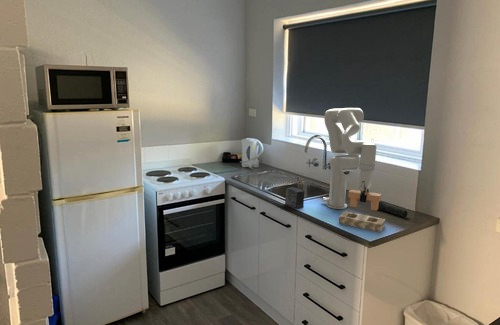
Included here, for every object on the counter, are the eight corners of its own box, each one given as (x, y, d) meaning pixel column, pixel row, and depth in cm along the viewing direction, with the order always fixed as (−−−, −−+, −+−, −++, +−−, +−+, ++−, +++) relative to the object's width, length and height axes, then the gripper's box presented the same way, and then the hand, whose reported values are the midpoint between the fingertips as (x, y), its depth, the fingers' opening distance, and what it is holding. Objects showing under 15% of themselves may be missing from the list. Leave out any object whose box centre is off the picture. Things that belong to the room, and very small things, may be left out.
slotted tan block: (338, 223, 207) (339, 216, 206) (344, 217, 215) (344, 211, 215) (380, 232, 196) (381, 224, 195) (384, 226, 205) (385, 219, 204)
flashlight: (376, 207, 237) (377, 199, 235) (407, 217, 220) (408, 209, 219) (371, 208, 234) (372, 200, 233) (402, 219, 217) (403, 210, 216)
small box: (304, 207, 232) (305, 190, 230) (296, 209, 228) (297, 192, 226) (292, 202, 240) (293, 186, 238) (284, 204, 237) (285, 187, 234)
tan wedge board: (347, 205, 205) (348, 191, 203) (350, 203, 209) (351, 189, 208) (378, 211, 197) (379, 196, 196) (380, 208, 201) (381, 194, 200)
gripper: (363, 163, 208) (361, 195, 212) (355, 168, 194) (352, 203, 197) (378, 165, 205) (375, 198, 208) (370, 170, 190) (367, 205, 193)
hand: (364, 200), depth 203 cm, fingers closed on tan wedge board, 5 cm apart
